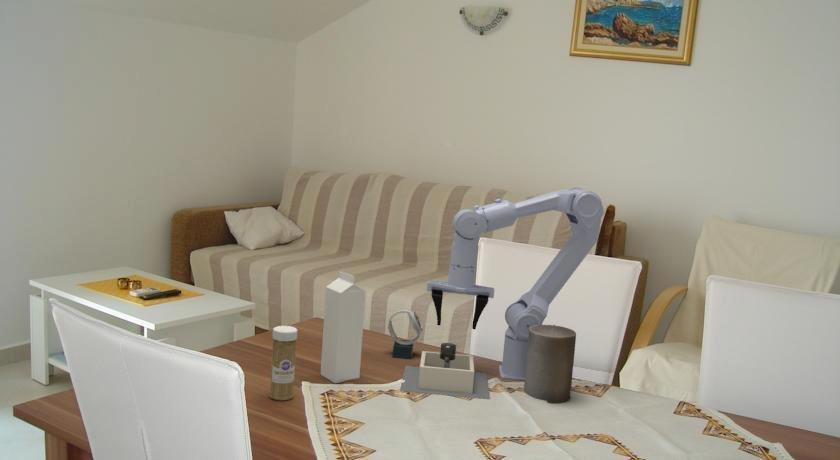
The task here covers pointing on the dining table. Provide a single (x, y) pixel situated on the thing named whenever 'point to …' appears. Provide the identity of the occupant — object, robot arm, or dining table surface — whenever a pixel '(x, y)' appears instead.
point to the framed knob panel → (446, 373)
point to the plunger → (447, 353)
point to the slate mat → (412, 386)
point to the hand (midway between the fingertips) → (456, 326)
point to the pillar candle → (550, 362)
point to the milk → (342, 329)
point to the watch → (405, 347)
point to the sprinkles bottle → (283, 362)
